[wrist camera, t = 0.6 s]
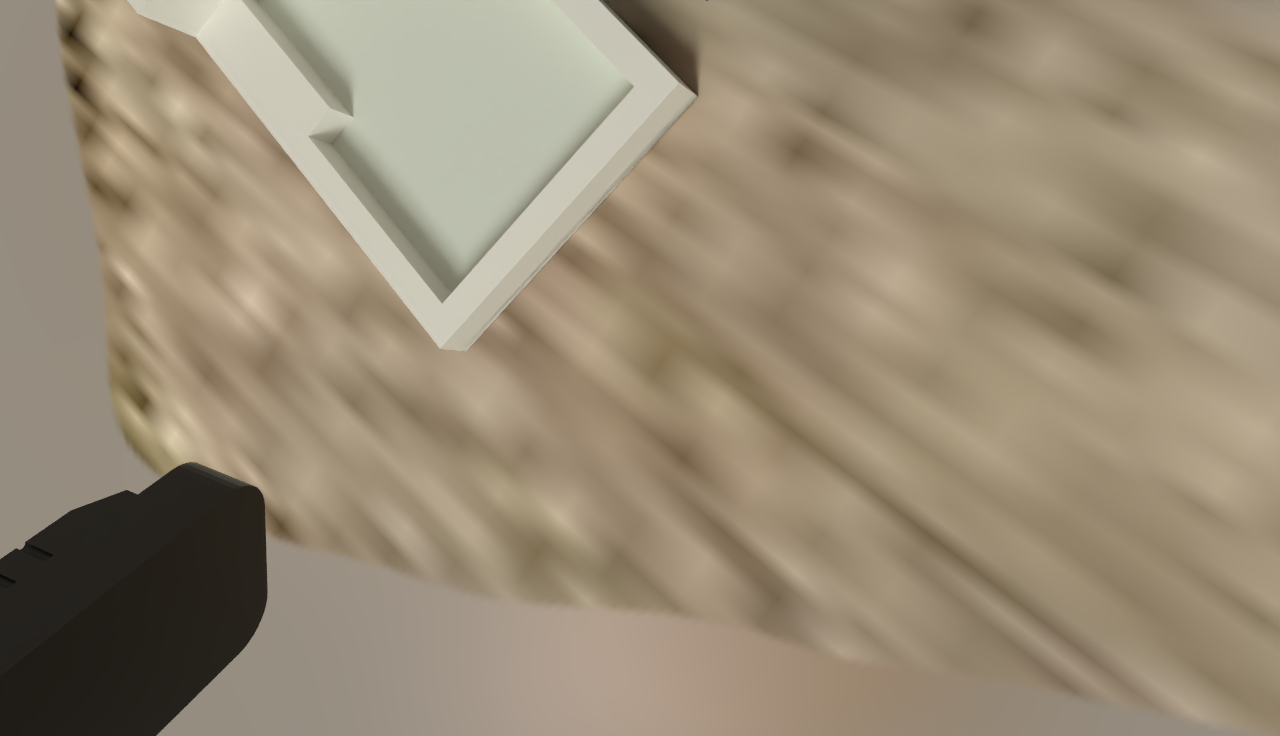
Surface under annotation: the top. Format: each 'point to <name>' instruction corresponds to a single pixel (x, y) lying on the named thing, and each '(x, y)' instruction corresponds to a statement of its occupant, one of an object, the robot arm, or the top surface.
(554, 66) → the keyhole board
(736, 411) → the top surface
